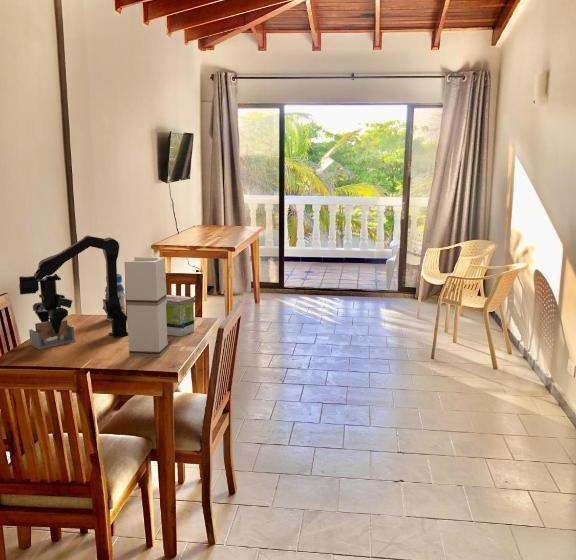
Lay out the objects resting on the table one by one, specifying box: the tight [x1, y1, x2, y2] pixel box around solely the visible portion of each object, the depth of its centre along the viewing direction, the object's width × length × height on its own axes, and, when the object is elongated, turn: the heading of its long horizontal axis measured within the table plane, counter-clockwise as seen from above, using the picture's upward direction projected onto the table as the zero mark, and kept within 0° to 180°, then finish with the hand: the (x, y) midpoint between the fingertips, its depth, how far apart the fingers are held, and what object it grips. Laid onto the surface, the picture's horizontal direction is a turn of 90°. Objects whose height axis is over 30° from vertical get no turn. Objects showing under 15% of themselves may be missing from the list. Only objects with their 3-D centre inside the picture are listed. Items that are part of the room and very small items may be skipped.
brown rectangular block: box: [34, 318, 69, 340], centre depth 245 cm, size 11×4×6 cm, turn 134°
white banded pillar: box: [123, 256, 170, 358], centre depth 230 cm, size 11×11×35 cm
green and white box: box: [166, 294, 195, 337], centre depth 259 cm, size 15×10×15 cm, turn 62°
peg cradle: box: [28, 323, 76, 350], centre depth 245 cm, size 14×9×6 cm, turn 134°
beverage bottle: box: [104, 273, 126, 322], centre depth 280 cm, size 8×8×20 cm
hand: (51, 331), depth 245 cm, fingers open, 9 cm apart
